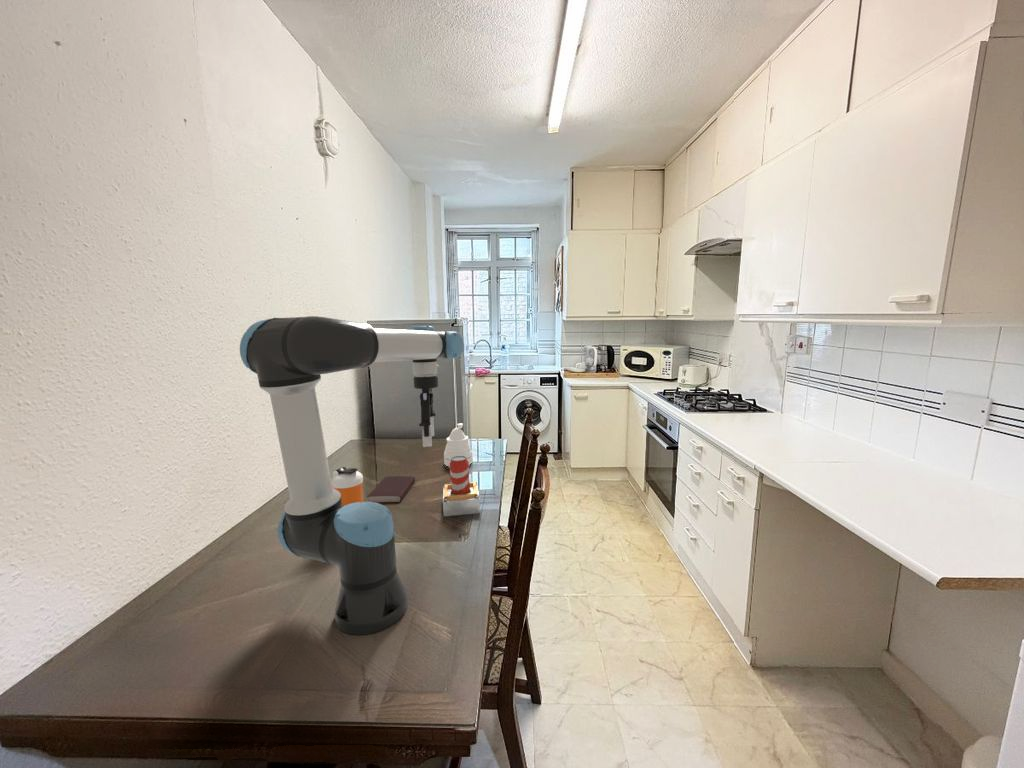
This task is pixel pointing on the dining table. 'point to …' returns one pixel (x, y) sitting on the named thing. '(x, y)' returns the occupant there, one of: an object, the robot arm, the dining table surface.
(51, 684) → the dining table surface
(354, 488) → the shaker bottle
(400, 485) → the book
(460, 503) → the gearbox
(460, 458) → the beverage can
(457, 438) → the honey pot
